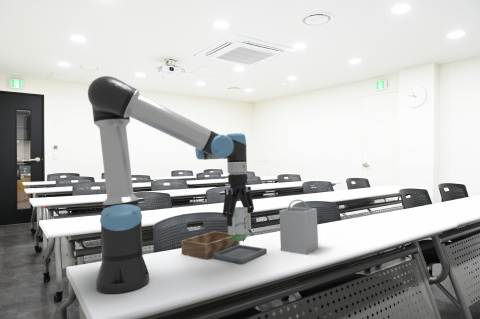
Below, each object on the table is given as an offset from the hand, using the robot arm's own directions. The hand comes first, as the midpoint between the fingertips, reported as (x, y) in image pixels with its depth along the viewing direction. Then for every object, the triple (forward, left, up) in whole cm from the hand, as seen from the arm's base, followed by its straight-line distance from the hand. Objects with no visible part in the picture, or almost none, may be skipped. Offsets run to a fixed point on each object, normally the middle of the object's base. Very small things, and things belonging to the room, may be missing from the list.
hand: (239, 231), depth 124 cm
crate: (0, +15, -9) cm, 18 cm away
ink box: (0, 0, -3) cm, 3 cm away
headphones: (+20, -15, -9) cm, 27 cm away
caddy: (+20, -15, -9) cm, 27 cm away
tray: (0, 0, -9) cm, 9 cm away
